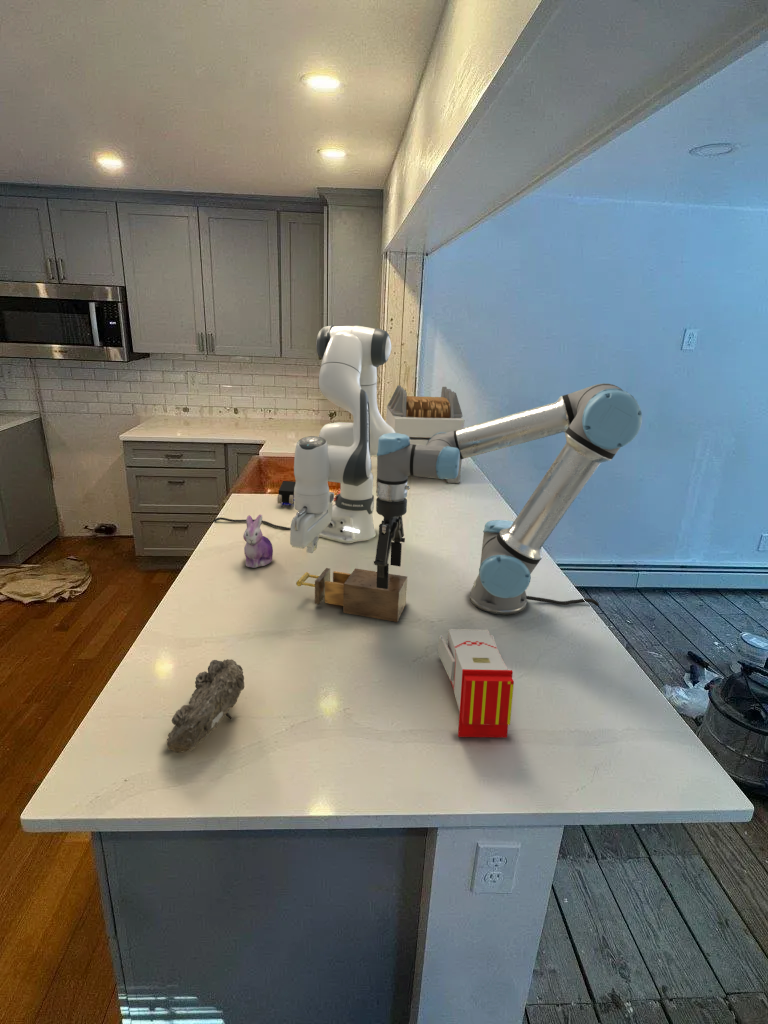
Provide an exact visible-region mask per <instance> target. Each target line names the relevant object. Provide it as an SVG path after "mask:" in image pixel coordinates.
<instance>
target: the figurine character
mask: <svg viewBox="0 0 768 1024" xmlns="http://www.w3.org/2000/svg"><path fill="white" fill-rule="evenodd" d="M295 484H296V481H292V480H282V482H281V485H280V487H279V489H278V493H277V498H276V499H277V500H276V501H277V504H279V505H280V504H281V505H280V506H281V508H284V507H285V506H288V509H290V508H291V506H292V505H294V487H295Z"/></svg>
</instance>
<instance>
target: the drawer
mask: <svg viewBox="0 0 768 1024" xmlns="http://www.w3.org/2000/svg"><path fill="white" fill-rule="evenodd" d="M350 575H351V573H349V572H343V571H335V570H333V572H332V581H331V568H330V567H329V568H328V567H326V568H325V569H324V570H323V571H322V572H321V573H320V574H319V575H316V574H310V573H309V572H308V571H306V572H304V573H303V575H301V577H300V578H299V579H298V580H297V581H296V583H295V584H296V586H297V587H301V586H306V587H313V588H314V604H315V605H320V604H321V602H322V601H323V599H324V603H325V604H330V605H335V606H341V607H343V597H344V583H345V581H346V580H347V579H348V577H349V576H350ZM309 578H311V579H315V580H314V583H310V582H306V581H307V580H308V579H309Z"/></svg>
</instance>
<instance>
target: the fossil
mask: <svg viewBox="0 0 768 1024" xmlns="http://www.w3.org/2000/svg"><path fill="white" fill-rule="evenodd" d="M243 670H244V669H243V667H242V665H240V664H237V662H236V661H235V660H234V659H232V658H231V659H227V658H226V659H224V660H223V661H222V660H217V659H212V660H211V661H210V663H209V665H208V666H207V671H201V672H199V673H198V674H197V675H196V676H195V680H194V684H195V685H194V687H195V689H194V690H193V693H192V694H191V697H190V698H189V700H188V704H184V705H182V706H181V707H180V709H177V710H176V711H175V713H174V715H173V716H172V718H171V723H172V724H173V727H172V730H171V731H170V732H168V734H167V738H166V741H167V742H166V745H167V749H168V750H169V751H173V752H174V753H176V754H178V753H182V752H188V751H189V752H192V751H193V750H195V748H196V747H197V746H199V744H200V743H201V742H203V741H204V740H205V739H206V738H207V737H208V736H209V735H210V734H211V733H212V732H214V730H215V729H217V727H218V726H219V724H220V722H221V721H222V720H223V719H224V718H225V716H226V717H227V719H229V720H233V717H232V715H230V714H229V710H230V709H231V708H234V706H235V704H236V703H237V702H238V699H239V697H240V695H241V693H242V691H243V690H245V689H244V688H245V675H244V671H243Z"/></svg>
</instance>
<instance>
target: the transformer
mask: <svg viewBox="0 0 768 1024" xmlns="http://www.w3.org/2000/svg"><path fill="white" fill-rule="evenodd" d="M440 393H441V394H440V396H415V395H414V396H413V395H412V396H411V395H407V394H408V393H407V390H406V389H404V388H403V387H402V385H399V384H398V385H397V386H396V388H395V390H394V392H393V394H392V395H391V398H390V400H389V402H388V404H387V405H386V413H385V414H386V415H385V422H386V423H387V424H388V425H390V426H391V427H392V428H393V429H394V431H395V432H396V433H400V434H405V435H407V436H408V437H409V439H410V444H414V445H426V444H427V442H428V440H429V439H430V438H431V437H432V436H433V435H435V434H437V433H440V432H446V433H448V432H452V431H456V430H459V429H462V428H465V419H464V418H463V411H462V408H461V405H460V402H459V398H458V395H457V392H455V391H453V390H452V389H451V388H447V386H442V387H441V392H440ZM462 461H463V459H461V460H460V462H459V471H458V476H457V477H456V478H455V479H445V481H446V482H447V483H449V484H455V483H456V484H459V483H461V472H462Z"/></svg>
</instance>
